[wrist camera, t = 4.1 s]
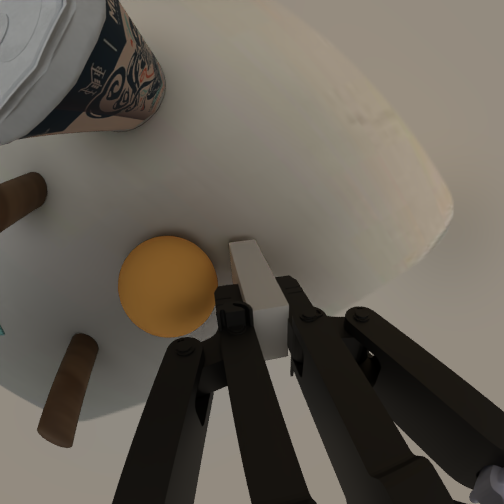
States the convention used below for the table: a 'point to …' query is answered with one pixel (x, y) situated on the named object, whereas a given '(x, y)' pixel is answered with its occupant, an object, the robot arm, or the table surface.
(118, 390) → the table surface
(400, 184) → the table surface
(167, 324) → the ball
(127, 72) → the beer can
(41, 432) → the post
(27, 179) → the post
